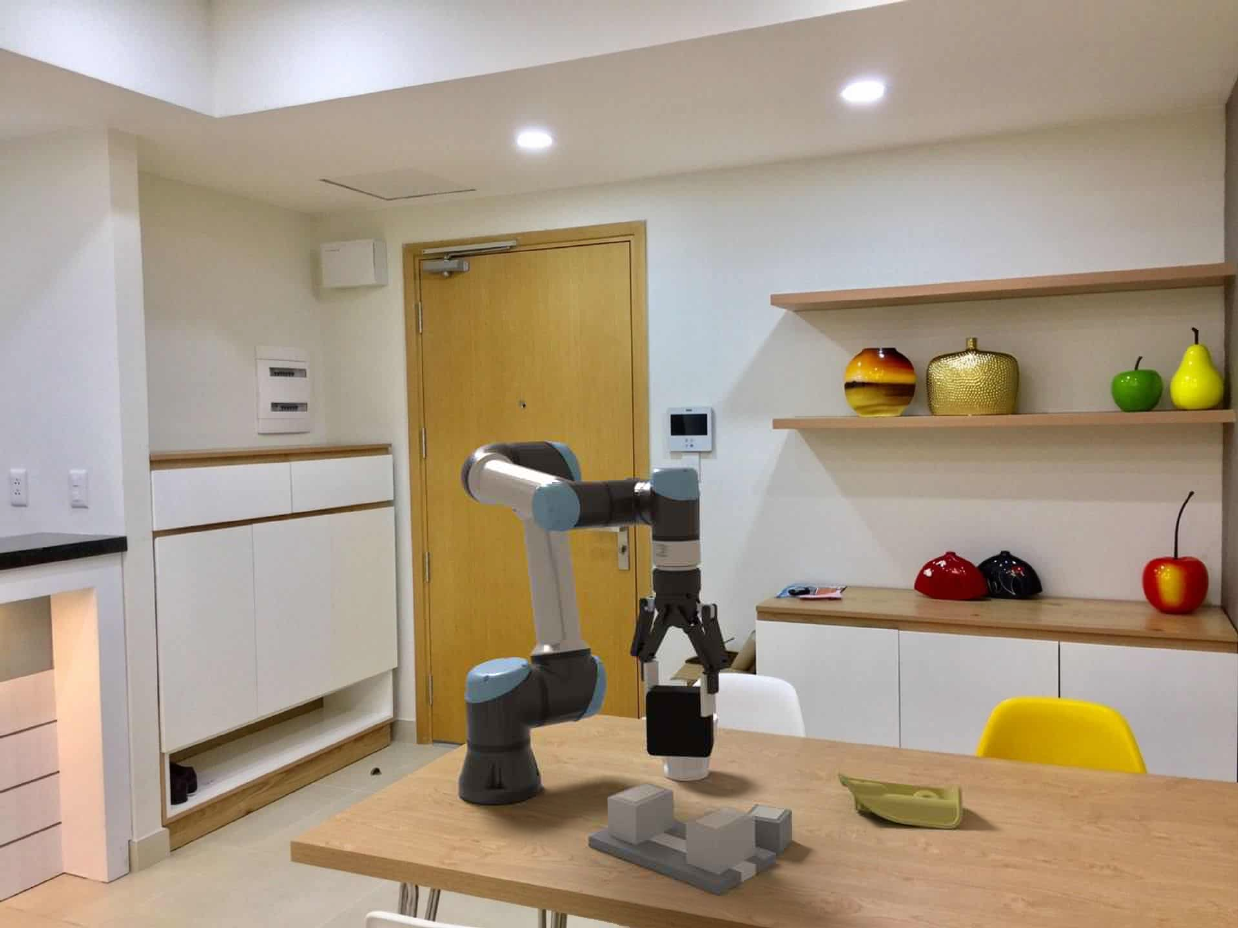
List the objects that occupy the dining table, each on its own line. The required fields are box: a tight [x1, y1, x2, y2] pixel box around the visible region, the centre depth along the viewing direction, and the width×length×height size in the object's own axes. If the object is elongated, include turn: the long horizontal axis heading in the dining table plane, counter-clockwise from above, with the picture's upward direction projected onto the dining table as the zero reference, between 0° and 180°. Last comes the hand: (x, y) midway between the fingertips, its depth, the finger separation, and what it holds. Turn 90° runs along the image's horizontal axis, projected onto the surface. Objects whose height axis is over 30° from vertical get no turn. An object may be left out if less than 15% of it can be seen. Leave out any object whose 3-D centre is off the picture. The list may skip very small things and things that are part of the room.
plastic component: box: [837, 771, 964, 830], centre depth 170 cm, size 20×7×10 cm
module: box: [746, 804, 793, 856], centre depth 159 cm, size 6×6×5 cm
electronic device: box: [645, 684, 715, 758], centre depth 157 cm, size 4×10×10 cm, turn 79°
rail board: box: [587, 782, 777, 896], centre depth 156 cm, size 26×14×8 cm, turn 47°
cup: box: [661, 713, 719, 782], centre depth 192 cm, size 12×12×11 cm
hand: (679, 708), depth 157 cm, fingers closed on electronic device, 11 cm apart
